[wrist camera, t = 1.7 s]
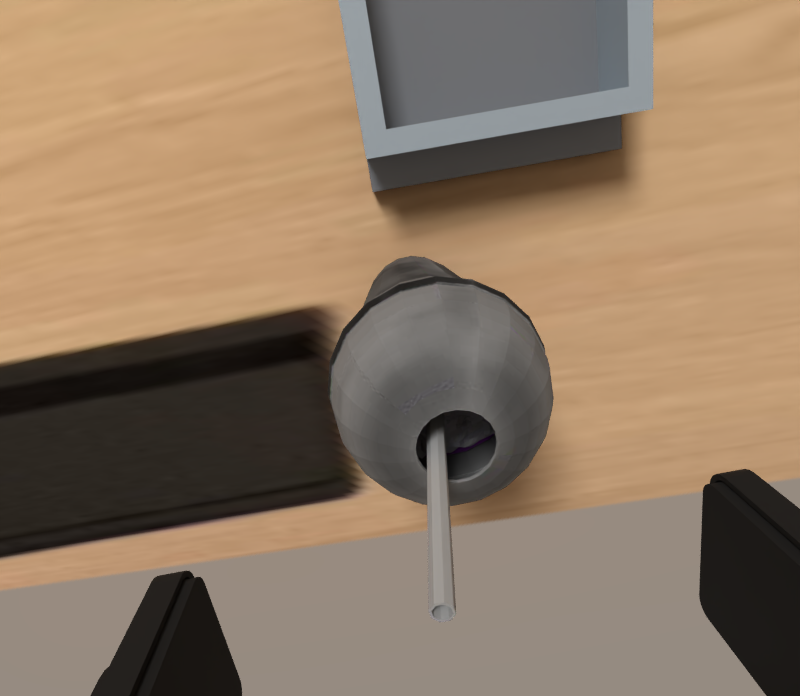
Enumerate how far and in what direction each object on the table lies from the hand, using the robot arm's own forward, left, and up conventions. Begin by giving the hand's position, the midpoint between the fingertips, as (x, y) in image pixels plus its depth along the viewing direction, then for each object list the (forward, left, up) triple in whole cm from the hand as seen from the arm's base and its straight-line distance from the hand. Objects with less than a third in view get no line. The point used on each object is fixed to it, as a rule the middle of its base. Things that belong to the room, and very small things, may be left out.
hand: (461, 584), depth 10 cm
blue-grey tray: (-5, -14, -20) cm, 25 cm away
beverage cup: (-1, 0, -20) cm, 20 cm away
